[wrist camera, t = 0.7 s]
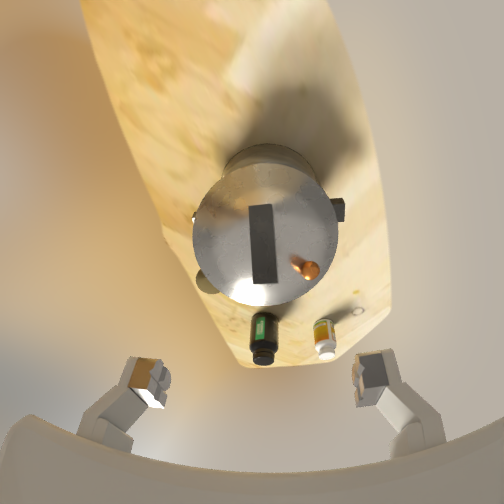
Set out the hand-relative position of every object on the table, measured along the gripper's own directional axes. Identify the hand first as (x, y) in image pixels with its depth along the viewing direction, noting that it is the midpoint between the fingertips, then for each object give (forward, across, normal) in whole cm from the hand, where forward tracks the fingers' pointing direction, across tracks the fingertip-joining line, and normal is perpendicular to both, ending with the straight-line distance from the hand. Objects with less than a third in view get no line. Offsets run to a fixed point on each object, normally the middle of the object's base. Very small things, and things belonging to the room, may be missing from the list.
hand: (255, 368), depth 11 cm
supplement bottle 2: (+41, -9, +48) cm, 64 cm away
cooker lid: (+21, +1, +6) cm, 22 cm away
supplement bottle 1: (+41, +6, +44) cm, 60 cm away
